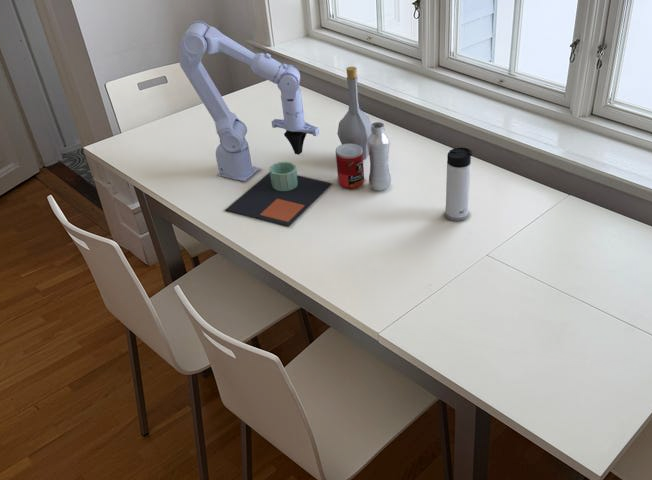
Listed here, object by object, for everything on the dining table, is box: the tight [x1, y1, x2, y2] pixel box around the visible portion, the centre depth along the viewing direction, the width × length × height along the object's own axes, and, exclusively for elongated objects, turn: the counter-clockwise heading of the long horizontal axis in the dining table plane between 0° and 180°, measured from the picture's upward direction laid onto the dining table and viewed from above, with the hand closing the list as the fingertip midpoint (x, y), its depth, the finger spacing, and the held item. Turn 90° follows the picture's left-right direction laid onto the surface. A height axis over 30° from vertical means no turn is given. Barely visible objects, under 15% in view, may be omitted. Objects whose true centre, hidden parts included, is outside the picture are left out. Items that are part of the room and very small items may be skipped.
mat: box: [225, 172, 332, 228], centre depth 190 cm, size 20×24×1 cm
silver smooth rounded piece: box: [367, 121, 392, 192], centre depth 189 cm, size 6×7×20 cm
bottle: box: [336, 66, 372, 161], centre depth 198 cm, size 11×11×30 cm
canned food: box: [335, 144, 365, 190], centre depth 194 cm, size 8×8×11 cm
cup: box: [269, 161, 298, 191], centre depth 193 cm, size 7×7×6 cm
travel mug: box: [445, 147, 474, 222], centre depth 179 cm, size 6×7×20 cm
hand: (298, 152), depth 197 cm, fingers closed
